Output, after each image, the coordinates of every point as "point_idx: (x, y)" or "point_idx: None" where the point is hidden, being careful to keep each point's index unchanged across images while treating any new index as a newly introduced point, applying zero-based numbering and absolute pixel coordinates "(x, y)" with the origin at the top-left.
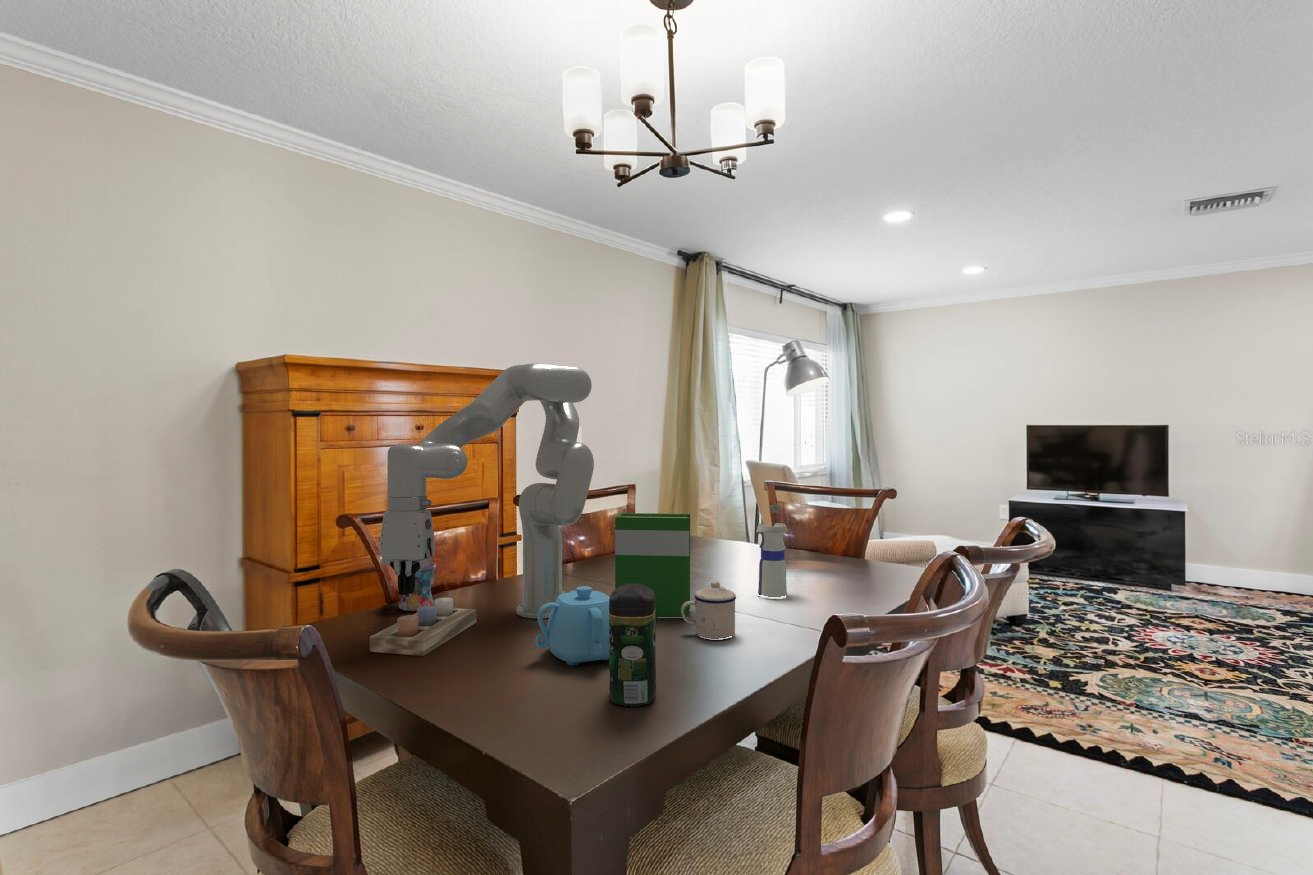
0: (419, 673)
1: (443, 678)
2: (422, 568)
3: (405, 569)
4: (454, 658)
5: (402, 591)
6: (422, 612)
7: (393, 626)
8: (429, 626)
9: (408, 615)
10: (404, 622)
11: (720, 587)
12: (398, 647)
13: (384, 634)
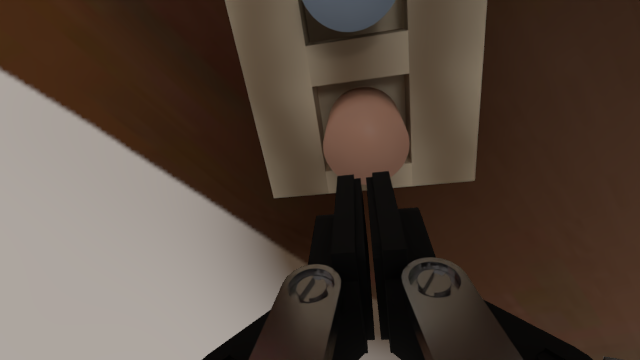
0: (512, 252)
1: (591, 260)
2: None
3: (345, 323)
4: (570, 147)
5: (368, 256)
6: (359, 29)
7: (258, 85)
8: (401, 32)
9: (341, 115)
10: None
11: None
12: None
13: (299, 168)
